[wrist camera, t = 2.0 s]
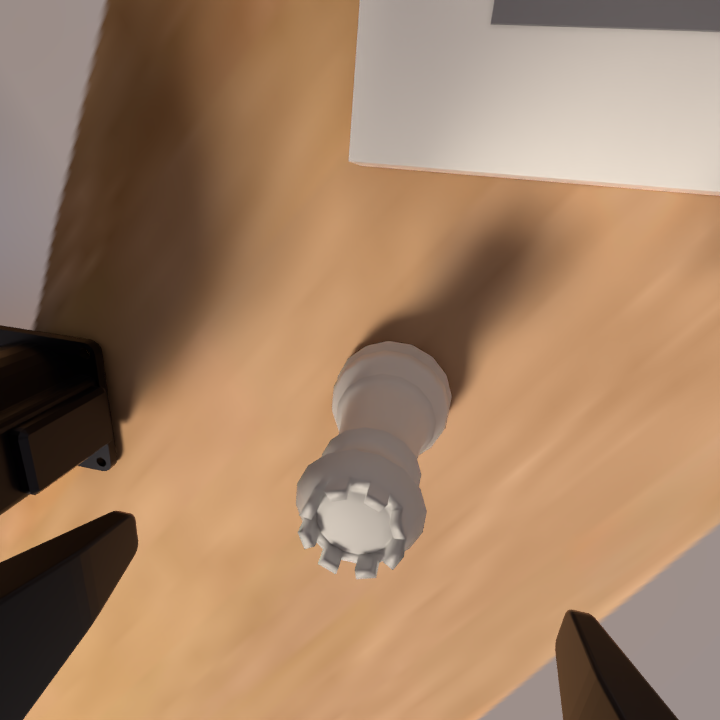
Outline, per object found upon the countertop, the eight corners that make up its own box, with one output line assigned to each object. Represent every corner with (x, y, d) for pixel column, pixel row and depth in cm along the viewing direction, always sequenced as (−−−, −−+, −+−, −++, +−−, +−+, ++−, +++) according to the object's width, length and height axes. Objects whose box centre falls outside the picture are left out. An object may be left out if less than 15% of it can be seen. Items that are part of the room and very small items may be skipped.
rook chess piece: (398, 460, 18) (363, 638, 11) (317, 391, 18) (222, 527, 11) (476, 391, 17) (497, 545, 9) (388, 312, 16) (335, 409, 9)
